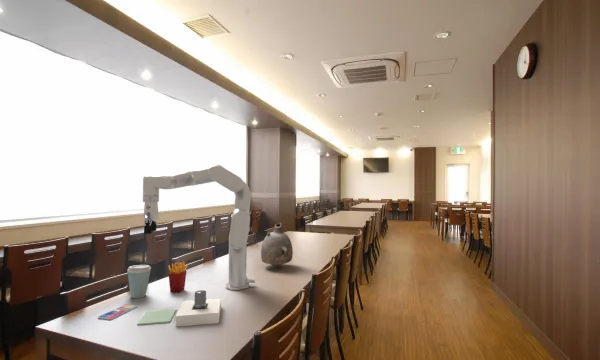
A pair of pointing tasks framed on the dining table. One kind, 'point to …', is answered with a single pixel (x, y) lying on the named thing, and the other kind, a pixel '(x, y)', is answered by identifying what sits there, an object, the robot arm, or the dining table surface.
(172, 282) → the french fries
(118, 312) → the smartphone
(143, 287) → the disposable coffee cup
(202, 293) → the peg
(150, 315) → the pad
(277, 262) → the jug
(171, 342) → the dining table surface
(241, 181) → the robot arm
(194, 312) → the pocket block
